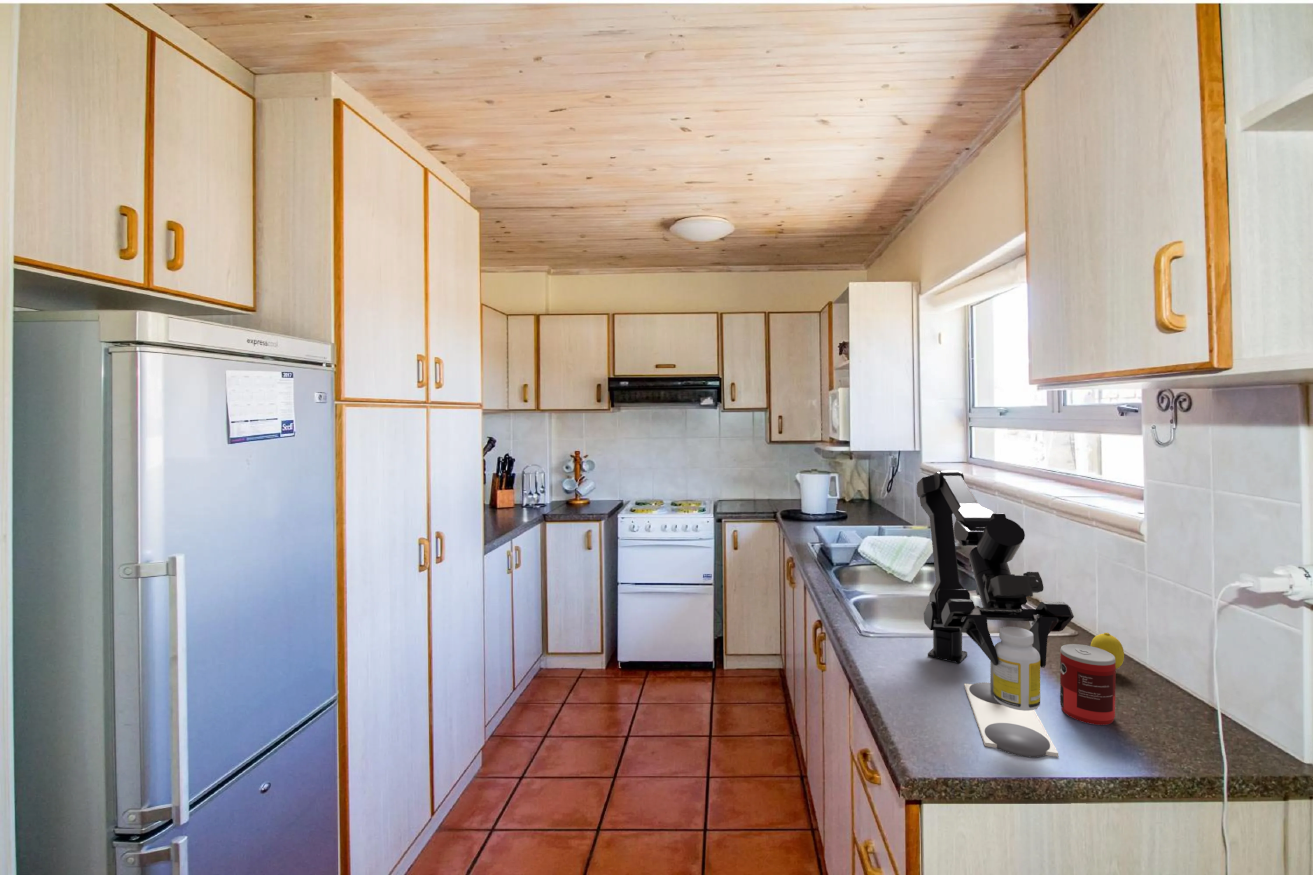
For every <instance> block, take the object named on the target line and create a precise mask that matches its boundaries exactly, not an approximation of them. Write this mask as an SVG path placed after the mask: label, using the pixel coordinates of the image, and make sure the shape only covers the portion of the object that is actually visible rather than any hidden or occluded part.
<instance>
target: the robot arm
mask: <svg viewBox="0 0 1313 875" xmlns="http://www.w3.org/2000/svg"><path fill="white" fill-rule="evenodd" d="M916 494H917V497H918V498H919V501H920V502H919V503H920V506H921V508H922V509H923V510H924V512H925V513H926V514H927V515H928V517H929V524H930V533H931V534H930V535H931V543H932V545H931V546H932V555H933V563H934V565H933V566H934V574H935V584H934V585H933V587H932V588H931V591H930V592H929V601H928V603H927V604H926V607H925V610H924V611H923V622H924V624H925V625H926V627H927V628H928V630H930V631H932V649H931V650H929V651H928V653H927V656H928V657H931V658H936V659H941V660H945V661H948V662H952V663H957V664H960V663H962V661H964V659H965V658H966V657H967V655H968V652H967V651H965V650H963V634H966V635H968V637H969V638H970V639H971V640H972V641H973V642H974V643H975V644H977V645H976V646H978V648H980V649H981V650H982V652H983V653H984V655H986V657H987V659H988V660H990V661H991V662H992V663H993V664H994V665H995V666H997V665H998V663H999V662H998V657H997V653H996V650H995V647H994V646H995V645H994V642H993V640H992V636H991V633H990V630H989V626H988V620H989V621H1012V622H1013V621H1015V622H1018V621H1019V622H1028V623H1029V626H1030V629H1028V630H1029V631H1031V632H1032V633H1033V640H1034V641H1033V644H1032V647H1034V648H1035V649H1036V650H1037V651H1038V652H1039V654H1040V669H1042V668H1045V667H1046V664H1047V649H1048V648H1047V647H1048V638H1049V634H1050V633H1051V632H1052V633H1053V632H1054V633H1055V632H1057V633H1058V632H1061V631H1064V630H1065V628H1066V627H1067V626H1068V625H1069V624H1070V622H1072V620H1073V619H1074V618H1075V615H1074V613H1073V610H1072V607H1070V605H1069V604H1068V603H1066V602H1064V601H1045V600H1043V601H1040V602H1039V603H1038V605H1037V606H1036V608H1023V606H1022V605H1026V604H1027V603H1028V599H1027V598H1028V597H1031V598H1032V597H1034V594H1038V593H1041V592H1043V591H1044V583H1043V579H1042V576H1041V574H1040V572H1039V571H1026V572H1024V573H1023V575H1021V574H1019V575H1015V574H1011V573H1012V572H1011V569H1010V567H1009V562H1011V561H1012V560H1013V559H1014V557H1015V555H1016V554H1017V552H1018V550H1019V549H1020V547H1021V545H1022V544H1023V542H1024V540H1025V537H1026V534H1025V533H1026V532H1025V530H1024V528H1023V527H1021V526H1020V525H1019V523H1017V522H1016V521H1014V520H1012V519H1011V518H1010V519H1009V518H1008V517H1006V513H1005V512H1003V513H1002V512H1000V513H999V512H998V513H997V512H993V511H992V510H991V509H988V508H986V507H984V506H981V504H979V502H978V500H977V499H976V497H975V496H974V493H973V492H972V491H971V489H970V487H969V486H968V484H967V482H966V481H965V477H964V473H963V472H962V471H959V470H939V471H937V472H935V473H934V474H931V475H928V476H927V475H926V476H923V477H922V478H920V480H919V481H918V482H917V483H916ZM953 515H954V517H955V522H953V521H954V520H953ZM956 541H958V543H959V544H960V545H961V546H963V547H973V548H972V549H971V550H970V552H969V553H968V559H969V560H968V566H969V567H971V569H972V573H973V577H974V580H975V584H976V588H975V593H976V595H977V596H979V597H980V601H981V605H982V607H981V606H979V605H975V602H974V601H973V600H972V599H971V594H970V592H969V590H968V589H965V588H964V586H963V585H962V583H961V582H960V575H959V567H958V566H959V565H958V558H957V550H956V548H957V547H956Z"/></svg>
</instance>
